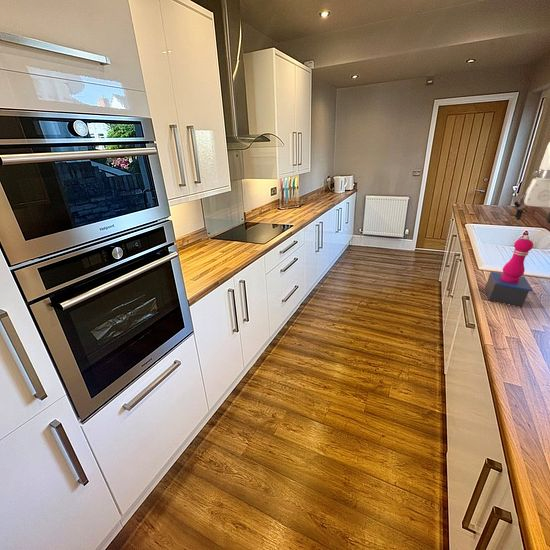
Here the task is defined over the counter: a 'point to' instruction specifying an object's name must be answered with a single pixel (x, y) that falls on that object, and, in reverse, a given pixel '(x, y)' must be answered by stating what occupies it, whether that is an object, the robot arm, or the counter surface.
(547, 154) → the robot arm
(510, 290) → the storage box
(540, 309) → the counter surface
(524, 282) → the lid
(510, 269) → the pepper mill
